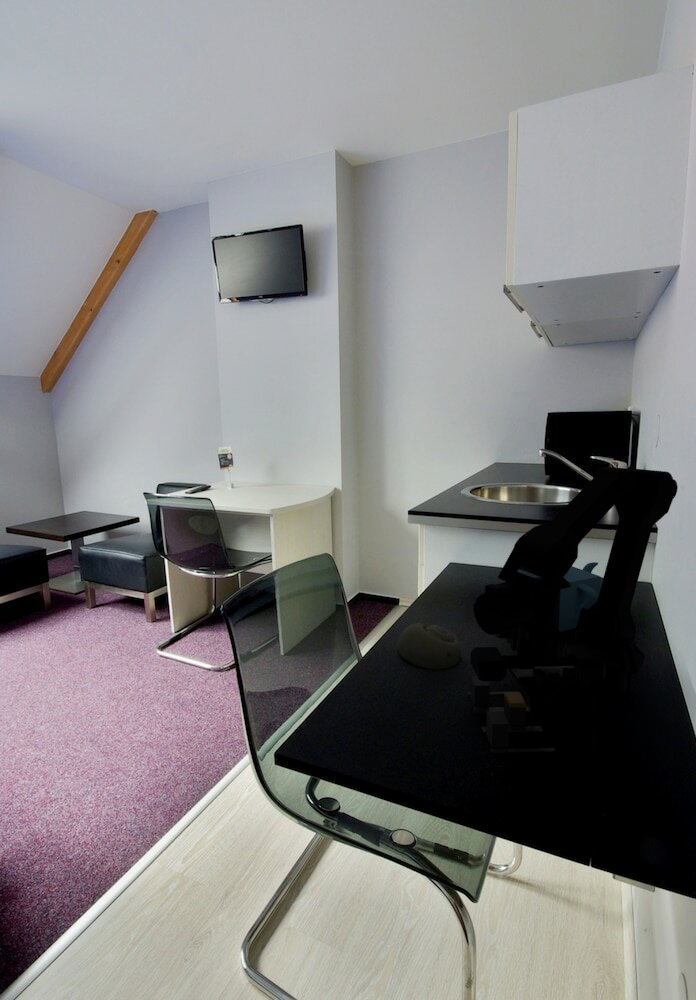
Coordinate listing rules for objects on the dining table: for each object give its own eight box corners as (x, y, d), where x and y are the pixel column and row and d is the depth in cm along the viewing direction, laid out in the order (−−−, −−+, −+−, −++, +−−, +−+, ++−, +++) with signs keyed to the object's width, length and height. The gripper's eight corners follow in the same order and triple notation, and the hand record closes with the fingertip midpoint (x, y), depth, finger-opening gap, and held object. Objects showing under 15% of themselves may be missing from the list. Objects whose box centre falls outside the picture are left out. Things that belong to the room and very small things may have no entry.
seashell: (462, 620, 100) (455, 635, 90) (465, 659, 100) (457, 678, 90) (401, 618, 104) (387, 632, 95) (403, 655, 104) (390, 673, 95)
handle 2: (502, 733, 74) (503, 711, 73) (508, 747, 71) (509, 723, 70) (485, 734, 74) (486, 711, 73) (491, 747, 71) (492, 724, 70)
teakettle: (600, 647, 103) (605, 579, 100) (505, 633, 110) (508, 569, 107) (594, 613, 120) (598, 554, 117) (512, 602, 127) (515, 547, 124)
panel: (544, 696, 86) (544, 689, 85) (588, 761, 70) (589, 752, 70) (439, 698, 86) (439, 691, 85) (460, 763, 70) (460, 754, 70)
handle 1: (484, 695, 84) (484, 675, 83) (489, 706, 81) (489, 685, 80) (470, 696, 84) (470, 676, 83) (474, 706, 81) (474, 685, 80)
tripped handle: (518, 713, 79) (519, 692, 78) (525, 725, 76) (526, 703, 75) (503, 713, 79) (504, 692, 78) (509, 725, 76) (510, 703, 75)
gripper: (576, 597, 82) (570, 684, 85) (463, 599, 82) (461, 686, 85) (611, 626, 71) (603, 724, 74) (481, 628, 71) (478, 726, 74)
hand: (533, 713), depth 77 cm, fingers closed
